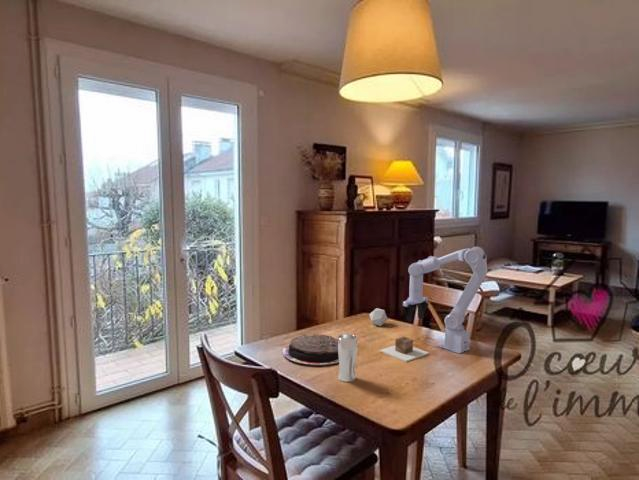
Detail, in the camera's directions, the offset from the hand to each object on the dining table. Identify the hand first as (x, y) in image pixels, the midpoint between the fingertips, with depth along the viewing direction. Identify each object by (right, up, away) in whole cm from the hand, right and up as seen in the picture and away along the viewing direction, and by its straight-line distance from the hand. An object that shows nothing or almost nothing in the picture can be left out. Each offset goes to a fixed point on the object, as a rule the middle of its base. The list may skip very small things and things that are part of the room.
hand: (415, 319), depth 185 cm
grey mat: (-8, -11, -14) cm, 19 cm away
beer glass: (-33, -13, -38) cm, 52 cm away
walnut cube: (-8, -10, -14) cm, 19 cm away
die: (-13, -7, +24) cm, 28 cm away
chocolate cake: (-43, -11, -15) cm, 47 cm away
